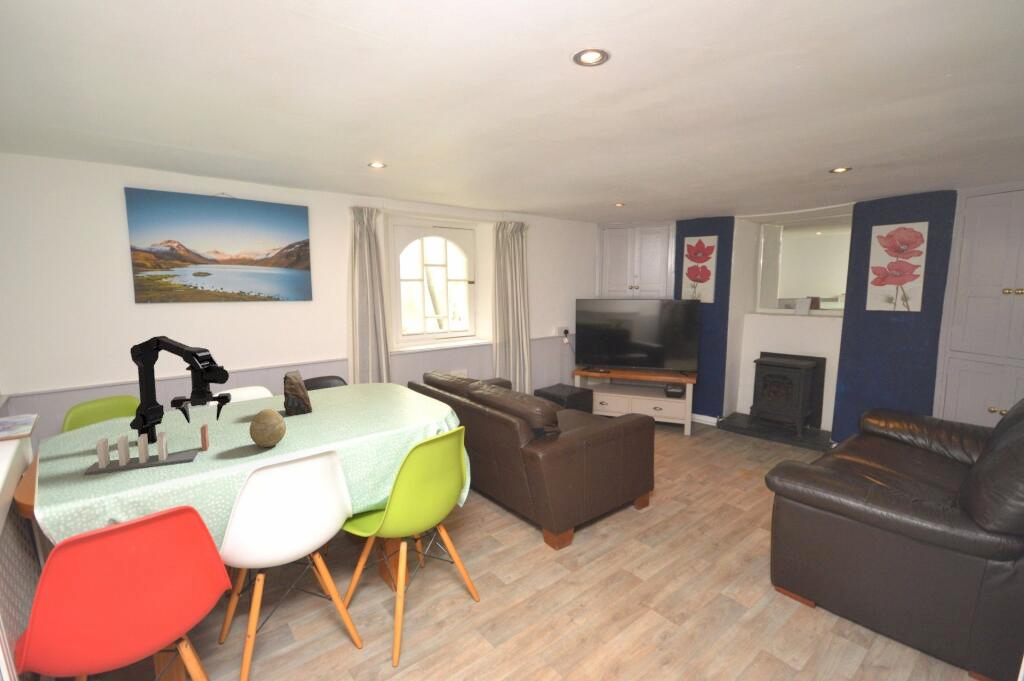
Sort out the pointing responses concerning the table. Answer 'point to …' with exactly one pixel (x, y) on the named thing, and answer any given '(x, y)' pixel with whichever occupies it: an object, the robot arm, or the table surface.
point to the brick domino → (204, 437)
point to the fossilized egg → (267, 428)
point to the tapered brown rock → (295, 395)
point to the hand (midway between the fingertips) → (203, 421)
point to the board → (135, 464)
